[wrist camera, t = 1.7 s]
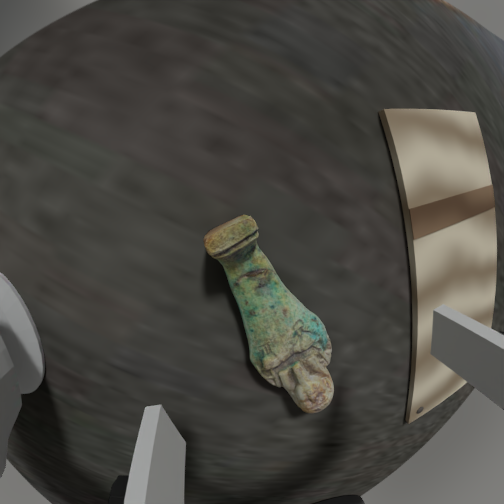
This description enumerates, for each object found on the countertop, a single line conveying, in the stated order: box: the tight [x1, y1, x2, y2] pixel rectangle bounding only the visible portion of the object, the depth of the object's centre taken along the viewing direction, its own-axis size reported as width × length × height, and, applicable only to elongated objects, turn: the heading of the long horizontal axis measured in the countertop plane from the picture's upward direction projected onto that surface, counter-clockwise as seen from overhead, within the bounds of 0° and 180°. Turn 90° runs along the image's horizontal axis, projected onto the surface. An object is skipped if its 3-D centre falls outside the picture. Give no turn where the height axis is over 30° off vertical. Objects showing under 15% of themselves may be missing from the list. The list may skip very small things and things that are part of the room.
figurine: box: [204, 215, 334, 413], centre depth 17 cm, size 6×15×4 cm, turn 19°
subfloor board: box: [379, 109, 497, 424], centre depth 20 cm, size 32×14×1 cm, turn 15°
